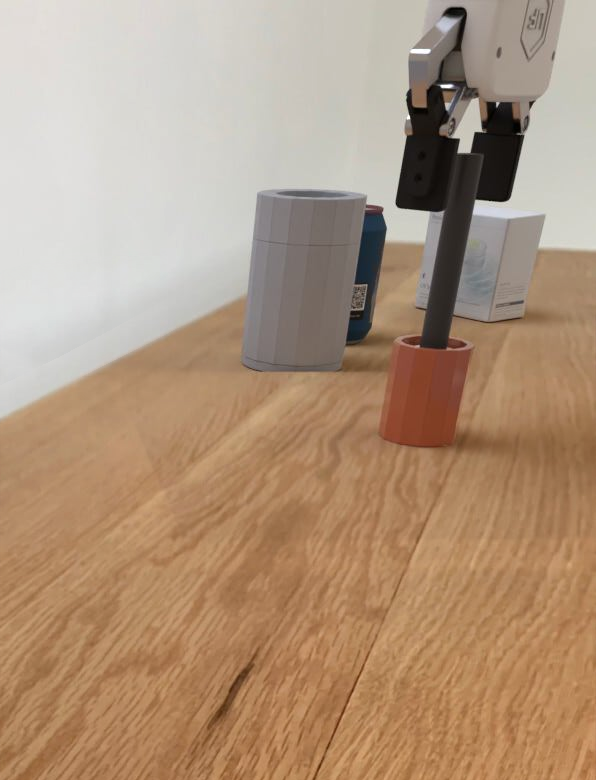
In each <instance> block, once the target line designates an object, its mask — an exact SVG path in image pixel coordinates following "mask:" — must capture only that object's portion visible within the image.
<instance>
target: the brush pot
mask: <svg viewBox="0 0 596 780" xmlns="http://www.w3.org/2000/svg"><path fill="white" fill-rule="evenodd" d="M421 336H422V334H406V335H400V336H397V337H395V339H394V340H393V344H392V348H391V349H392V350H391V356H390V359H389V360H390V362H389V366H388V367H389V368H388V374H387V379H386V385H385V390H384V397H383V401H382V402H383V403H382V408H381V414H380V420H379V426H378V436H379V437H380V438H382V439H383V440H385V441H387V442H390V443H393V444H396V445H400V446H406V447H413V448H441V447H447V446H449V445H452V444H453V443H454V442H455V440H456V438H457V433H458V428H459V424H460V418H461V413H462V409H463V404H464V400H465V399H464V398H465V394H466V390H467V385H468V381H469V380H468V379H469V375H470V370H471V366H472V360H473V356H474V350H475V346H476V345H475V344H474V343H473V342H471V341H470V340H467V339H463V338H459V337H454V336H450V335H449V339H448V345H447V347H448V348H452V349H433V348H423V347H417V346H416V345H420V341H421Z"/></svg>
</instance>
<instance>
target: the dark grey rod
mask: <svg viewBox="0 0 596 780" xmlns="http://www.w3.org/2000/svg"><path fill="white" fill-rule="evenodd" d="M483 158H484V154H480V153H470V152H458V153H457V158H456V163H455V168H454V173H453V178H452V183H451V189H450V194H449V199H448V204H447V207H446V209H445V210H444V214H443V219H442V225H441V231H440V236H439V242H438V247H437V253H436V258H435V264H434V269H433V275H432V280H431V286H430V292H429V297H428V303H427V308H426V309H425V313H424V320H423V325H422V330H421V335H422V336H421V341H420V345H416V346H417V347H423V348H433V349H452V348H448V347H447V345H448V339H449V336H450V335H451V334H450V333H451V328H452V323H453V318H454V315H453V313H454V308H455V303H456V298H457V293H458V288H459V282H460V277H461V272H462V267H463V262H464V256H465V251H466V246H467V241H468V236H469V230H470V225H471V220H472V215H473V210H474V205H476V200H475V199H476V194H477V189H478V184H479V179H480V173H481V168H482V163H483Z"/></svg>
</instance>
